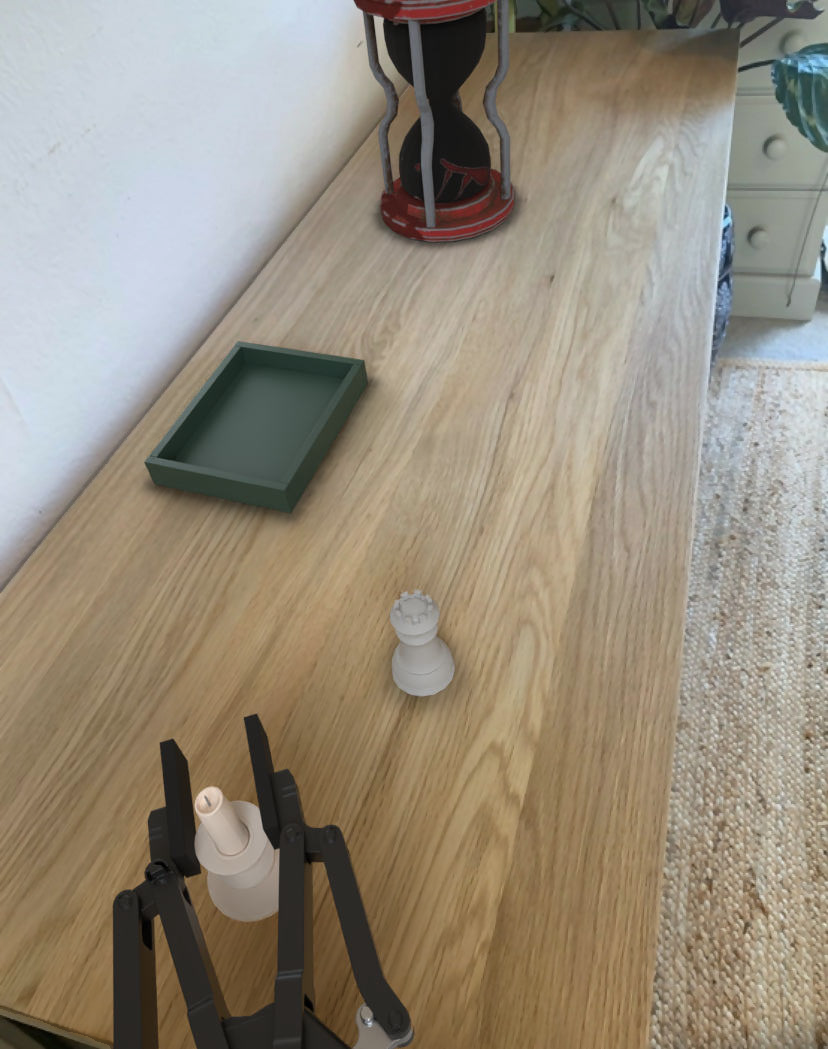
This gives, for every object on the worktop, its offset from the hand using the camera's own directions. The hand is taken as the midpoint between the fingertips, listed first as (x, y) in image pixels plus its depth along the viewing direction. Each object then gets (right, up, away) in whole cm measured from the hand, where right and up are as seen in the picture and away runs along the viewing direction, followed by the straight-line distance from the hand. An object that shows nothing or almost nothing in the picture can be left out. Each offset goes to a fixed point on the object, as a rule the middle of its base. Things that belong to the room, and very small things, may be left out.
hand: (215, 740), depth 47 cm
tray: (-3, +21, +32) cm, 38 cm away
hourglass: (+15, +50, +56) cm, 77 cm away
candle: (+2, -8, +1) cm, 8 cm away
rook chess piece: (+12, +1, +13) cm, 18 cm away
